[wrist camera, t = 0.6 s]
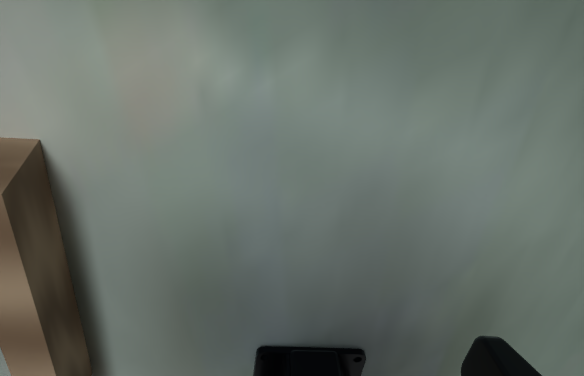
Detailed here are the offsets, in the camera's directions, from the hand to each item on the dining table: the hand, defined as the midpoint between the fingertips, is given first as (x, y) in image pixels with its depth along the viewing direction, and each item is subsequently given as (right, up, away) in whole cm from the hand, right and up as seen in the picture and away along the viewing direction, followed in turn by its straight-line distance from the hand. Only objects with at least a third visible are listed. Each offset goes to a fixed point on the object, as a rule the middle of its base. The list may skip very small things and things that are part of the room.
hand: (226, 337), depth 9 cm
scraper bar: (-11, -2, +17) cm, 20 cm away
